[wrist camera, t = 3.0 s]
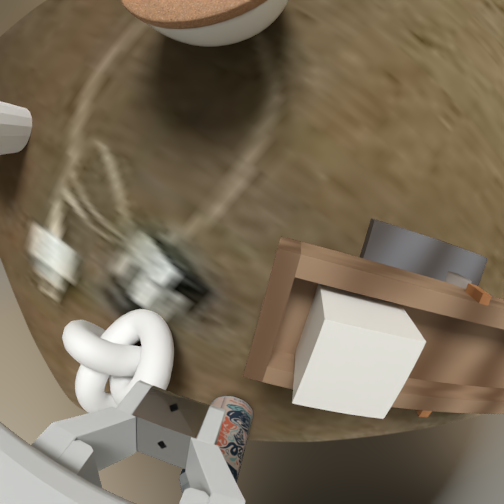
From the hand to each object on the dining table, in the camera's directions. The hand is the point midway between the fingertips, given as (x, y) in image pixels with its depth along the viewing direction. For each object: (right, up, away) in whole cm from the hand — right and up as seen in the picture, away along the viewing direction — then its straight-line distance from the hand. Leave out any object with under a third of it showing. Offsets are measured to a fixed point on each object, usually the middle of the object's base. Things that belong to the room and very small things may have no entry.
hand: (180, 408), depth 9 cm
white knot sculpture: (-9, -5, +22) cm, 25 cm away
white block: (+8, +1, +9) cm, 12 cm away
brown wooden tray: (+16, +1, +16) cm, 23 cm away
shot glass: (-26, +20, +19) cm, 38 cm away
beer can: (0, -12, +22) cm, 25 cm away
